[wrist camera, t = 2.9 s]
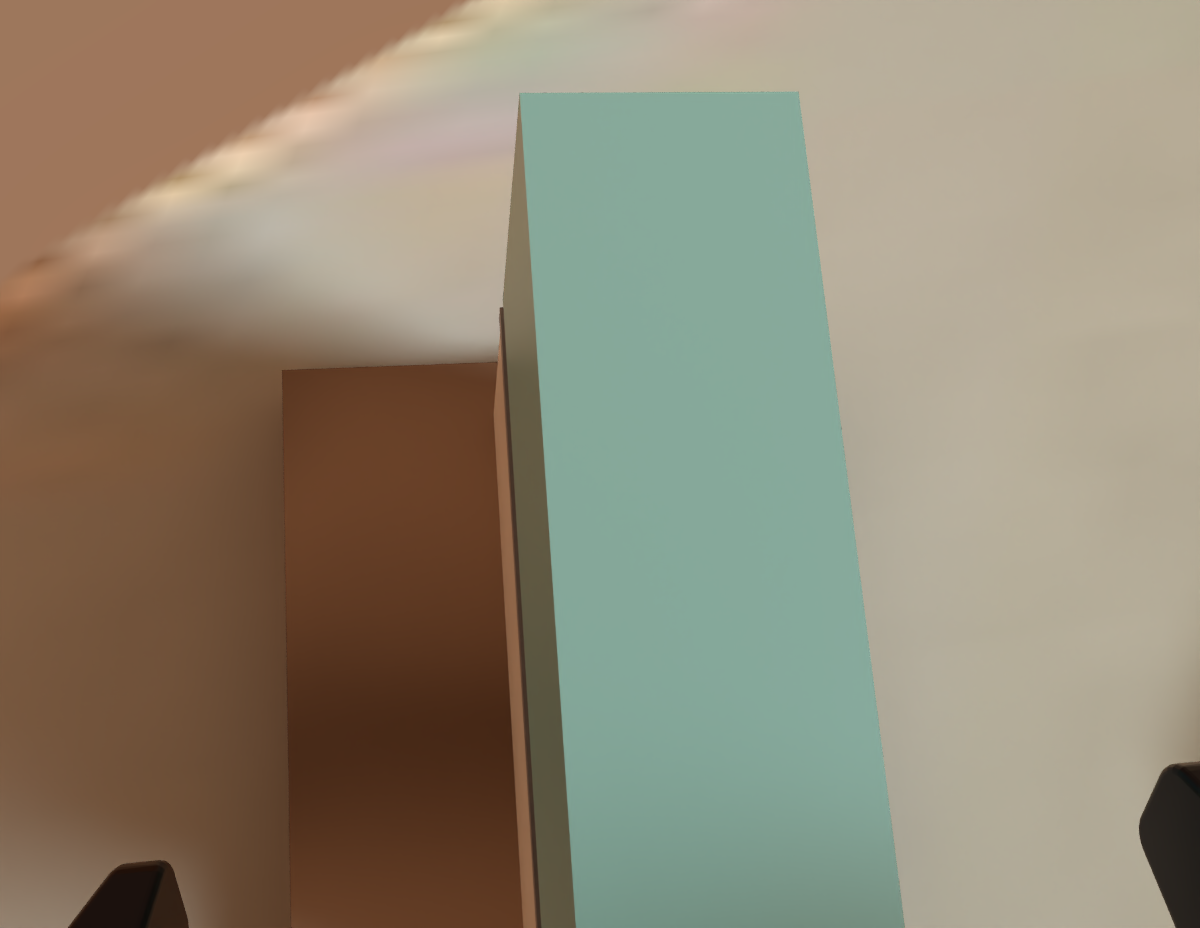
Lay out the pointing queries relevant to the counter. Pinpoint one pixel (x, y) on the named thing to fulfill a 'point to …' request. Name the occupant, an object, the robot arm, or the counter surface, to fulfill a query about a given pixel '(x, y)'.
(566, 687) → the mint green pillar
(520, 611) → the beige rectangular block
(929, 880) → the counter surface
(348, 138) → the counter surface
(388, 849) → the brown flat block
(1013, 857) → the counter surface
